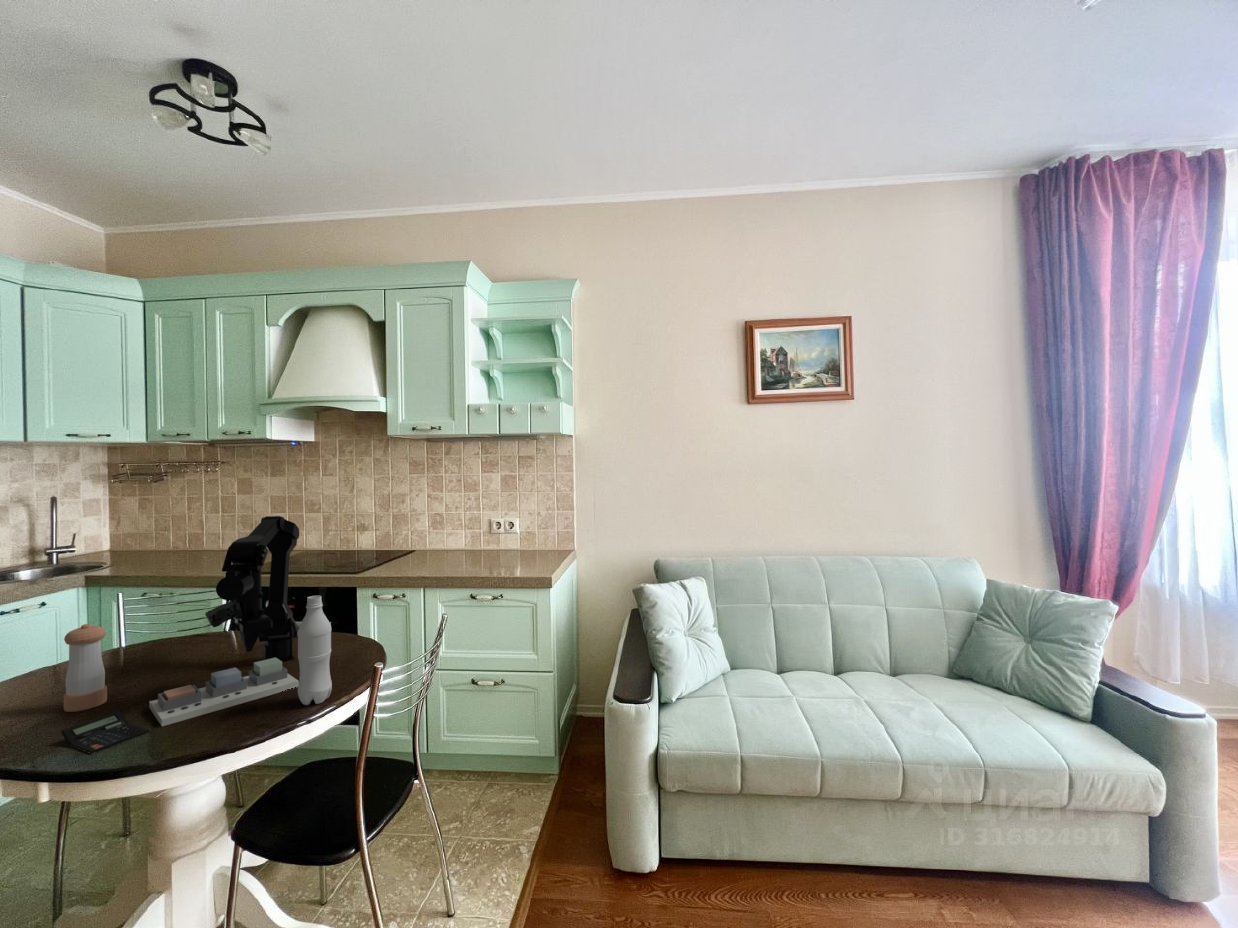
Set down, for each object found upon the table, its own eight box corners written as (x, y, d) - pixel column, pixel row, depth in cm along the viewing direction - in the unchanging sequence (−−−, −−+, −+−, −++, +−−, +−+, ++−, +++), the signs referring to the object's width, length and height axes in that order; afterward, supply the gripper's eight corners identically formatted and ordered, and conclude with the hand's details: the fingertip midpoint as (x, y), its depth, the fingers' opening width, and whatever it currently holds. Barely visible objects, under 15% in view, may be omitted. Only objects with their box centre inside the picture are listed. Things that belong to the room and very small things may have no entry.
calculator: (91, 755, 105) (91, 740, 105) (61, 744, 110) (61, 729, 110) (148, 733, 114) (148, 719, 114) (118, 723, 118) (118, 710, 118)
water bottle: (338, 696, 131) (338, 594, 131) (313, 709, 124) (312, 601, 124) (316, 692, 133) (315, 592, 133) (290, 704, 126) (289, 599, 126)
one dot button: (275, 666, 142) (275, 657, 142) (282, 671, 139) (282, 661, 139) (253, 672, 138) (253, 662, 138) (260, 677, 135) (259, 667, 135)
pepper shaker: (73, 701, 129) (73, 622, 129) (112, 696, 132) (112, 618, 132) (56, 714, 122) (56, 630, 122) (97, 708, 125) (97, 626, 125)
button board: (279, 673, 146) (279, 660, 146) (298, 686, 137) (298, 672, 137) (149, 707, 125) (149, 692, 125) (161, 726, 116) (161, 709, 116)
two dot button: (235, 677, 135) (235, 667, 135) (241, 682, 132) (241, 672, 132) (211, 683, 131) (210, 673, 131) (216, 688, 128) (216, 678, 128)
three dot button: (190, 694, 128) (190, 684, 128) (195, 700, 125) (195, 690, 125) (163, 702, 125) (163, 691, 125) (168, 708, 121) (168, 697, 121)
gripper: (200, 589, 136) (201, 650, 136) (217, 603, 123) (218, 670, 123) (251, 582, 144) (252, 639, 144) (273, 594, 131) (273, 657, 132)
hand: (248, 651), depth 136 cm, fingers closed
